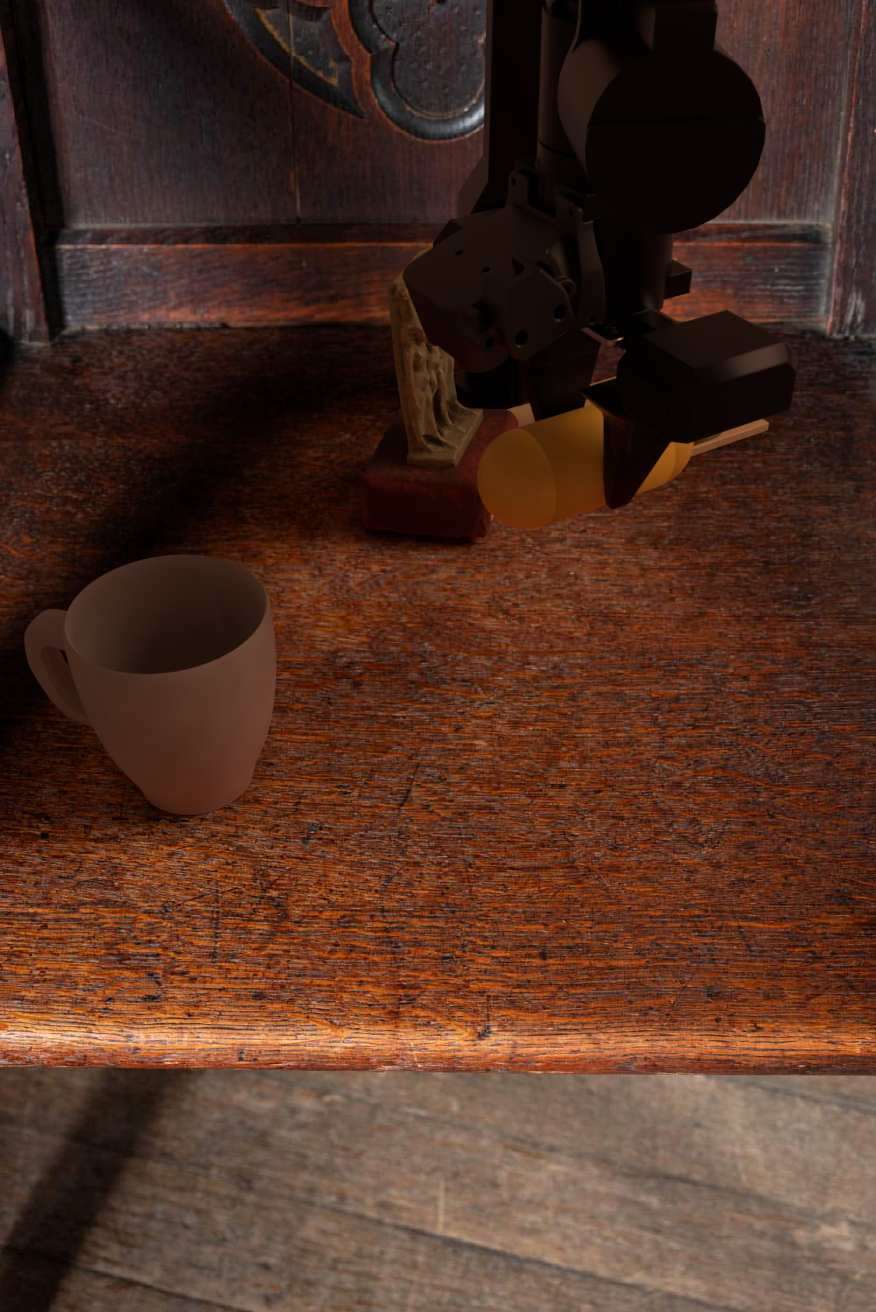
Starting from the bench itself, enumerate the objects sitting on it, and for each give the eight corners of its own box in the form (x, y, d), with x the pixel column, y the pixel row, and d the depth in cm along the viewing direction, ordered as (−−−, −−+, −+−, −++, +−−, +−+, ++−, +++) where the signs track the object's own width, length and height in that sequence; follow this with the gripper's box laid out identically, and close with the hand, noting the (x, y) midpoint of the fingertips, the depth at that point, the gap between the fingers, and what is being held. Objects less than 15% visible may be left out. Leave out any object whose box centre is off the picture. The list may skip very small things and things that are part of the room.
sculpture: (493, 551, 74) (497, 306, 64) (359, 536, 75) (344, 295, 66) (520, 467, 81) (527, 237, 72) (398, 455, 82) (390, 228, 73)
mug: (319, 732, 61) (303, 570, 55) (242, 862, 55) (214, 695, 49) (102, 686, 64) (64, 528, 58) (5, 804, 58) (-49, 639, 52)
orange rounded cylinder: (686, 436, 64) (697, 352, 61) (746, 476, 61) (760, 391, 58) (457, 511, 59) (457, 424, 56) (511, 560, 56) (513, 470, 53)
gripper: (319, 111, 52) (342, 441, 62) (578, 260, 40) (556, 644, 50) (543, 70, 56) (531, 386, 66) (840, 194, 44) (771, 560, 54)
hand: (586, 481), depth 59 cm, fingers closed on orange rounded cylinder, 4 cm apart
